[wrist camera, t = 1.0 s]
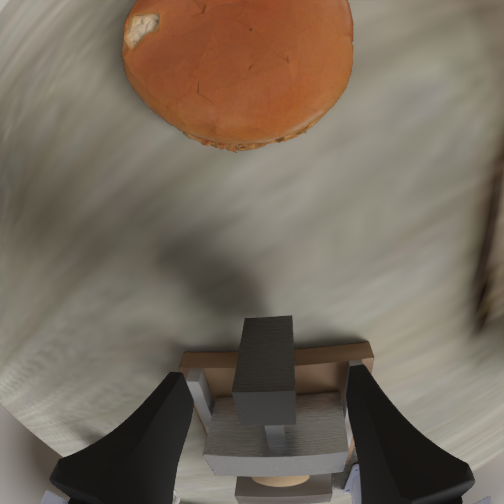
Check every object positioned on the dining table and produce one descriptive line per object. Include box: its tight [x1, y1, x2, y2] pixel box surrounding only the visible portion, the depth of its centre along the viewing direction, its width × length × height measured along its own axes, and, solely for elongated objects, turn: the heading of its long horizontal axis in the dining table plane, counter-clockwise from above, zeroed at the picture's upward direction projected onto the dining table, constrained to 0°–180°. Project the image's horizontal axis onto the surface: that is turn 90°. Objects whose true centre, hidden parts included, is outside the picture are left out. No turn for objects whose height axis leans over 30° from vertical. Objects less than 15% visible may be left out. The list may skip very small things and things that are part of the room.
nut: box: [251, 475, 310, 487], centre depth 18 cm, size 4×4×4 cm
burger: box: [122, 0, 353, 153], centre depth 10 cm, size 10×9×5 cm
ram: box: [203, 316, 349, 477], centre depth 14 cm, size 9×8×5 cm
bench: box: [179, 342, 374, 504], centre depth 18 cm, size 15×12×6 cm
